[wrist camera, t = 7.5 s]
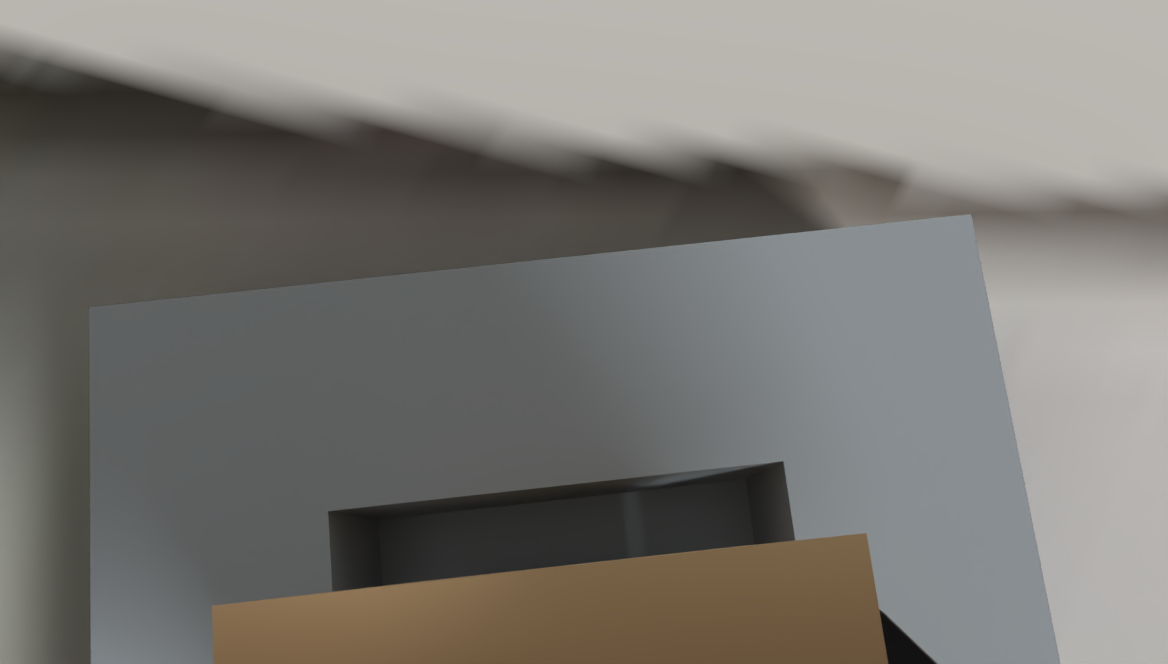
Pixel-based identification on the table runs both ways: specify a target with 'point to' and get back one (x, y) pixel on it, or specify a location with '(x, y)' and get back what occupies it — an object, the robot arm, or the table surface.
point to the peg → (587, 614)
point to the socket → (566, 432)
